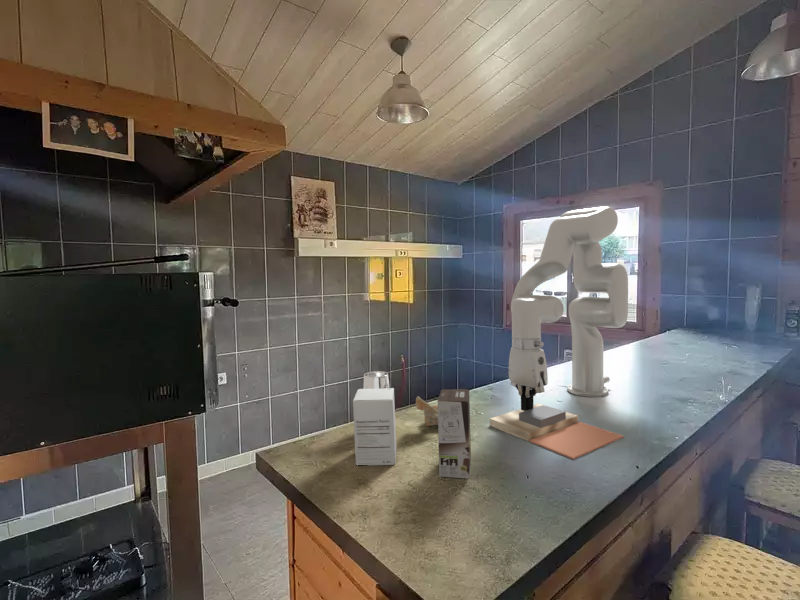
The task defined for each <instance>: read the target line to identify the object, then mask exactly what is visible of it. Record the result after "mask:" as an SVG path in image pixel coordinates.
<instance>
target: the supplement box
mask: <svg viewBox="0 0 800 600" xmlns="http://www.w3.org/2000/svg"><path fill="white" fill-rule="evenodd" d="M395 406H396V405H395V388H394V387H389V388H383V389H364V388H359V389H357V391H356V393H355V395H354V396H353V400H352V408H353V409H352V410H353V412H352V414H353V430H354V432H353V433H354V434H353V435H354V454H355V466H356V465H357V467H359V466H358V465H368V466H395V465H396V459H397V458H396V457H397V431H396V430H397V428H396V407H395ZM394 464H395V465H394Z"/></svg>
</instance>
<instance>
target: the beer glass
mask: <svg viewBox="0 0 800 600" xmlns="http://www.w3.org/2000/svg"><path fill="white" fill-rule="evenodd" d="M383 388H390V380H389V373H388V372H386V371H383V370H381V371H380V370H373V371H368V372H366V373H364V374H363V389H383Z"/></svg>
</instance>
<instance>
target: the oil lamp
mask: <svg viewBox="0 0 800 600" xmlns="http://www.w3.org/2000/svg"><path fill="white" fill-rule="evenodd" d="M415 405H416V408H417V410H421V411H423V415H424V422H425V425H426V427H427V426H428V427H431V426H437V427H438V404H437V405H432V404H431V405H430V404H429V403H428V402H427V401H425V400H424V399H422V398H421V397H420V396H419V395H418V396H416V398H415Z"/></svg>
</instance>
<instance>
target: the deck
mask: <svg viewBox="0 0 800 600" xmlns="http://www.w3.org/2000/svg"><path fill="white" fill-rule="evenodd" d="M542 405H543V404H541V403H536V404H533V408H536V407H539V406H542ZM547 406H548V405H547ZM548 407H550V406H548ZM520 412H523V411H522V410H521V408H519V409H516V410H513V411H509V412H506V413H503V414H500V415H497V416H494V417H490V418H489V426H490V427H493V428H495V429H497V430H500V431H502V432H504V433H507V434H509V435H512V436H514V437H517V438H519V439H522V440H524V441H526V442H530V440H531V439H534V438H537V437H540V436H542V435H545V434H548V433H550V432H553V431H556V430H559V429H561V428H564V427H567V426H570V425H572V424H575V423H578V422H579V415H578V414H574V413H571V412H568V411H565V412H566V419H564V420H562V421H559V422H556V423H553V424H550V425H548V426H545V427H542V428H540V427H537V426H534V425H531V424H528V423H526V422H523V421H520V420H519V413H520Z"/></svg>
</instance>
